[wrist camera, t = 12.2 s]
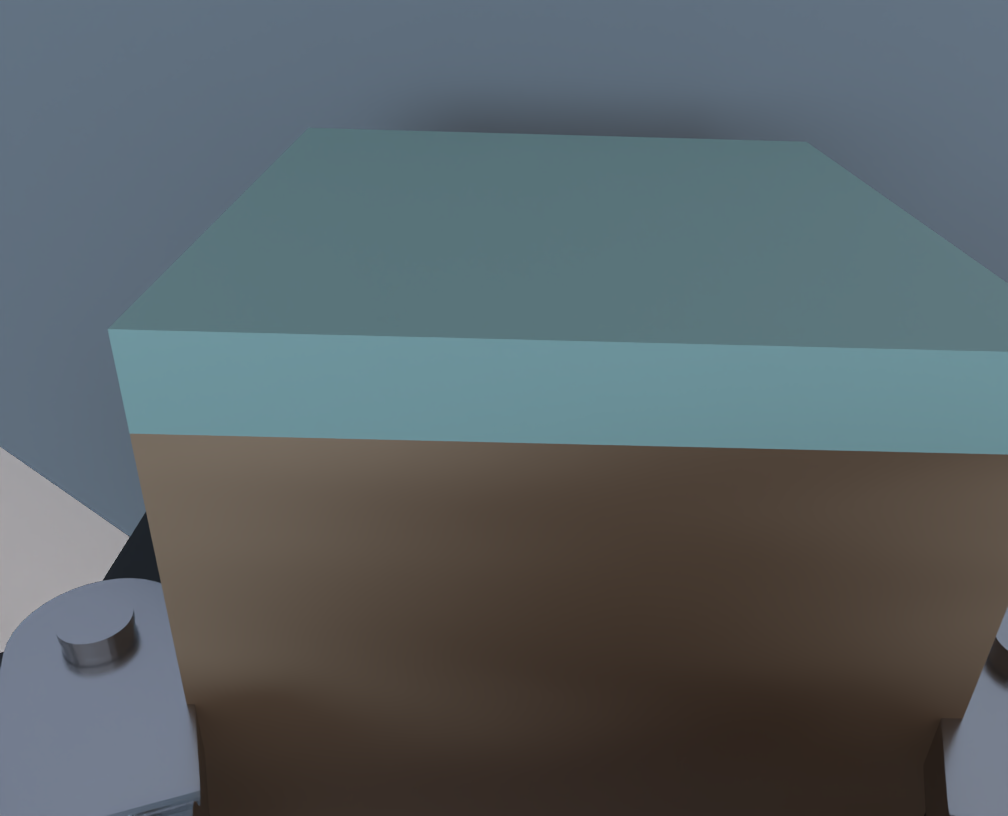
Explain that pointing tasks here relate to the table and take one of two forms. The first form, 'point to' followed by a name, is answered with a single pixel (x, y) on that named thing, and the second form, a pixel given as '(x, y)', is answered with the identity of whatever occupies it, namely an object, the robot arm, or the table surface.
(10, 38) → the mat
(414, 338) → the walnut block
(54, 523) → the table surface
